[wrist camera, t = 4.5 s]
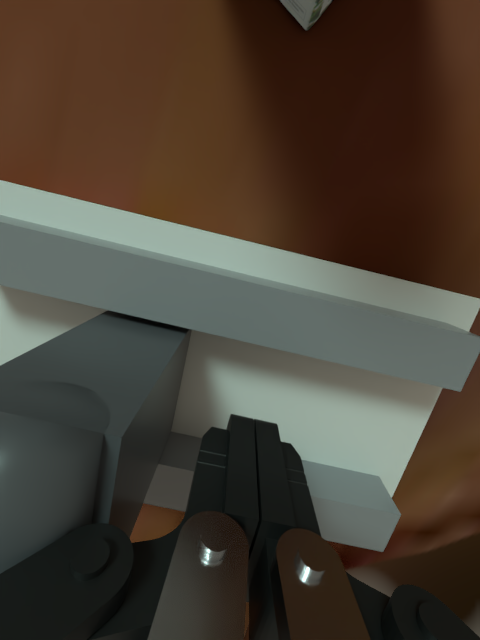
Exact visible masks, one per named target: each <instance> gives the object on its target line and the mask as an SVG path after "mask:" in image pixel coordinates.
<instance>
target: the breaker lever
mask: <svg viewBox="0 0 480 640" xmlns="http://www.w3.org/2000/svg"><path fill="white" fill-rule="evenodd" d="M191 332H192V329H187V328H183V327H179V326H175V325H170V324H166V323H162V322H157V321H153V320H149V319H144V318H140V317H136V316H131V315H127V314H123V313H118V312H114V311H110V310H108V311H106V312H104V313H102V314H100V315H98V316H96V317H94V318H92V319H90V320H88V321H86V322H84V323H82V324H80V325H78V326H76V327H74V328H72V329H71V330H69V331H67V332H65V333H63V334H61V335H59V336H57V337H55V338H53V339H51V340H49V341H47V342H45V343H43V344H41V345H39V346H37V347H35V348H33V349H32V350H30V351H28V352H26V353H24V354H22V355H20V356H18V357H16V358H14V359H12V360H10V361H8V362H6V363H4V364H2V365H0V574H1V573H2V572H4V571H6V570H7V569H9V568H11V567H13V566H14V565H16V564H18V563H19V562H21V561H23V560H24V559H26V558H28V557H29V556H31V555H33V554H34V553H36V552H38V551H40V550H41V549H43V548H45V547H46V546H48V545H50V544H51V543H53V542H55V541H56V540H58V539H60V538H61V537H63V536H65V535H67V534H68V533H70V532H72V531H74V530H76V529H77V528H80V527H83V526H85V525H89V524H95V523H105V524H110V525H114V526H116V527H118V528H120V529H121V530H122V531H124V532H125V533H126V535H127V536H128V537H129V538H130V535H131V533H132V530H133V528H134V525H135V522H136V520H137V517H138V515H139V512H140V510H141V507H142V504H143V502H144V499H145V497H146V494H147V492H148V489H149V486H150V484H151V481H152V479H153V476H154V474H155V471H156V468H157V466H158V463H159V461H160V458H161V455H162V453H163V450H164V448H165V445H166V443H167V440H168V437H169V435H170V432H171V429H172V424H173V420H174V415H175V410H176V405H177V400H178V395H179V390H180V385H181V380H182V376H183V371H184V366H185V361H186V356H187V351H188V346H189V341H190V336H191Z"/></svg>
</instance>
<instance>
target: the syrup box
mask: <svg viewBox="0 0 480 640" xmlns="http://www.w3.org/2000/svg"><path fill="white" fill-rule="evenodd" d="M332 1H333V0H280V2H281V3H282V4H283V5H284V6H285V7H286V9H287V10H288V11H289V12H290V13H291V14H292V15H293V16H294V18H295V19H296V20H297V21H298V22H299V23H300V25H301V26H302V27H303V28H304V29H305V30H309V29H310V28H311V27H312V26H313V25H314V23H315V22H316V21H317V20H318V18H319V17H320V16H321V15H322V13H323V12H324V11H325V10H326V9H327V7H328V6H329V5H330V3H331V2H332Z"/></svg>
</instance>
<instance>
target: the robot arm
mask: <svg viewBox="0 0 480 640" xmlns="http://www.w3.org/2000/svg"><path fill="white" fill-rule="evenodd" d="M246 602H249V625H248V627H247V630H246V633H245V637H244V628H245V611H246ZM0 640H480V638H479V636H477V635H476V634H475V633H474V632H473V631H472V630H471V629H470V628H469V627H468V626H467V625H466V624H465V623H464V622H463V621H462V620H461V619H460V618H459V617H458V616H456V615H455V614H454V613H453V612H452V611H451V610H450V609H449V608H448V607H447V606H446V605H445V604H444V603H443V602H441V601H440V600H439V599H438V598H436V597H435V596H434V595H432V594H431V593H429V592H428V591H426V590H424V589H422V588H420V587H417V586H414V585H401V586H398V587H397V588H396V589H395V590H394V592H393V594H392V596H391V598H390V597H388V596H387V595H385V594H383V593H381V592H379V591H377V590H376V589H374V588H371V587H370V586H368V585H366V584H364V583H362V582H361V581H359V580H357V579H356V578H354V577H352V576H351V575H350V574H348V573H347V572H346V571H345V569H344V566H343V564H342V561H341V559H340V558H339V556H338V554H337V553H336V551H335V550H334V549H333V547H332V546H331V545H330V544H329V543H328V542H327V541H326V540H324V539H323V538H322V537H321V533H320V529H319V525H318V522H317V518H316V514H315V510H314V506H313V503H312V499H311V495H310V491H309V487H308V486H307V480H306V476H305V474H304V468H303V464H302V460H301V457H300V455H299V454H298V453H297V451H296V450H295V448H294V447H293V446H292V444H291V443H286V442H281V440H280V435H279V429H278V425H277V424H276V423H272V422H267V421H263V420H258V419H253V418H248V417H244V416H239V415H235V414H231V415H230V418H229V421H228V425H227V429H226V430H225V429H221V428H216V427H211V428H210V429H209V430H208V431H207V432H206V433H205V434H204V435H203V437H202V441H201V446H200V450H199V454H198V458H197V462H196V466H195V471H194V475H193V479H192V484H191V489H190V493H189V498H188V502H187V507H186V512H185V516H184V519H183V521H182V522H181V523H180V525H179V526H178V527H177V528H176V529H174V530H173V531H172V532H171V533H169V534H167V535H165V536H163V537H160V538H158V539H154V540H148V541H142V542H135V543H131V541H130V539H129V537H128V536H127V535H126V533H125V532H124V531H122V530H121V529H120V528H118V527H116V526H114V525H110V524H105V523H95V524H89V525H85V526H83V527H80V528H77V529H76V530H74V531H72V532H70V533H68V534H67V535H65V536H63V537H61V538H60V539H58V540H56V541H55V542H53V543H51V544H50V545H48V546H46V547H45V548H43V549H41V550H40V551H38V552H36V553H34V554H33V555H31V556H29V557H28V558H26V559H24V560H23V561H21V562H19V563H18V564H16V565H14V566H13V567H11V568H9V569H7V570H6V571H4V572H2V573H1V574H0Z"/></svg>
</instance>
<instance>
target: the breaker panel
mask: <svg viewBox="0 0 480 640" xmlns="http://www.w3.org/2000/svg"><path fill="white" fill-rule="evenodd" d="M479 308H480V299H479V298H475V297H471V296H467V295H463V294H459V293H455V292H451V291H447V290H443V289H439V288H435V287H431V286H427V285H423V284H419V283H415V282H410V281H406V280H402V279H398V278H394V277H390V276H386V275H382V274H378V273H374V272H370V271H366V270H362V269H358V268H354V267H350V266H346V265H342V264H338V263H334V262H330V261H326V260H321V259H317V258H313V257H309V256H305V255H301V254H297V253H293V252H289V251H285V250H281V249H277V248H273V247H269V246H265V245H261V244H257V243H253V242H249V241H245V240H241V239H237V238H232V237H228V236H224V235H220V234H216V233H212V232H208V231H204V230H200V229H196V228H192V227H188V226H184V225H180V224H176V223H172V222H168V221H164V220H160V219H156V218H152V217H148V216H143V215H139V214H135V213H131V212H127V211H123V210H119V209H115V208H111V207H107V206H103V205H99V204H95V203H91V202H87V201H83V200H79V199H75V198H71V197H67V196H63V195H58V194H54V193H50V192H46V191H42V190H38V189H34V188H30V187H26V186H22V185H18V184H14V183H10V182H6V181H2V180H0V365H2V364H4V363H6V362H8V361H10V360H12V359H14V358H16V357H18V356H20V355H22V354H24V353H26V352H28V351H30V350H32V349H33V348H35V347H37V346H39V345H41V344H43V343H45V342H47V341H49V340H51V339H53V338H55V337H57V336H59V335H61V334H63V333H65V332H67V331H69V330H71V329H72V328H74V327H76V326H78V325H80V324H82V323H84V322H86V321H88V320H90V319H92V318H94V317H96V316H98V315H100V314H102V313H104V312H106V311H108V310H110V311H114V312H118V313H123V314H127V315H131V316H136V317H140V318H144V319H149V320H153V321H157V322H162V323H166V324H170V325H175V326H179V327H183V328H187V329H192V332H191V336H190V341H189V346H188V351H187V356H186V361H185V366H184V371H183V376H182V380H181V385H180V390H179V395H178V400H177V405H176V410H175V415H174V420H173V424H172V429H171V432H170V435H169V437H168V440H167V443H166V445H165V448H164V450H163V453H162V455H161V458H160V461H159V463H158V466H157V468H156V471H155V474H154V476H153V479H152V481H151V484H150V486H149V489H148V492H147V494H146V497H145V499H144V502H143V503H145V504H150V505H155V506H160V507H165V508H170V509H175V510H179V511H184V512H186V507H187V502H188V498H189V493H190V489H191V484H192V479H193V475H194V471H195V466H196V462H197V458H198V454H199V450H200V446H201V441H202V437H203V435H204V434H205V433H206V432H207V431H208V430H209V429H210V428H211V427H216V428H221V429H225V430H226V429H227V425H228V421H229V418H230V415H231V414H235V415H239V416H244V417H248V418H253V419H258V420H263V421H267V422H272V423H276V424H277V425H278V429H279V435H280V440H281V442H286V443H291V444H292V446H293V447H294V448H295V450H296V451H297V453H298V454H299V455H300V457H301V460H302V464H303V468H304V474H305V476H306V480H307V486H308V487H309V491H310V495H311V499H312V503H313V506H314V510H315V514H316V518H317V522H318V525H319V529H320V533H321V537H322V538H323V539H324V540H327V541H332V542H337V543H342V544H347V545H351V546H356V547H361V548H366V549H371V550H376V551H381V552H383V551H384V549H385V547H386V545H387V543H388V541H389V539H390V537H391V535H392V533H393V530H394V528H395V526H396V524H397V522H398V520H399V518H400V516H401V514H400V512H399V511H398V509H397V507H396V505H395V503H394V502H393V500H392V496H393V494H394V492H395V490H396V487H397V485H398V483H399V481H400V479H401V477H402V474H403V472H404V470H405V468H406V466H407V464H408V462H409V459H410V457H411V455H412V453H413V451H414V449H415V446H416V444H417V442H418V440H419V438H420V436H421V433H422V431H423V429H424V427H425V425H426V423H427V421H428V418H429V416H430V414H431V412H432V410H433V408H434V405H435V403H436V401H437V399H438V397H439V395H440V392H441V390H442V388H447V389H451V390H455V391H460V392H461V390H462V388H463V385H464V383H465V381H466V379H467V377H468V375H469V373H470V371H471V369H472V367H473V365H474V363H475V361H476V359H477V356H478V354H479V352H480V336H477V335H475V334H473V333H470V332H469V330H470V328H471V326H472V323H473V321H474V319H475V317H476V315H477V313H478V310H479Z"/></svg>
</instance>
